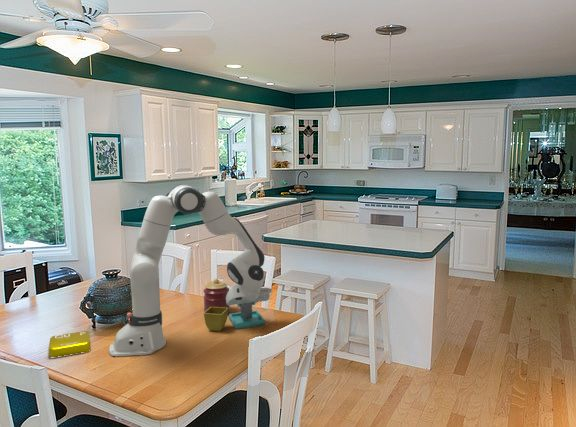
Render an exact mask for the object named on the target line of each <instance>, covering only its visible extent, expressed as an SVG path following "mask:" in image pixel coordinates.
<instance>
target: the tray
mask: <svg viewBox="0 0 576 427" xmlns="http://www.w3.org/2000/svg"><path fill="white" fill-rule="evenodd" d="M228 319H229V321H230V322H231V324H232V326H233V328H234V330H239V329H247V328H255V327H261V326H265V325H266V323H265V319H264V317H263V316H262V315H261V314H260V312H259V311H258V310H252V318H250V319H242V318H241V312H235V313H234V312H232V313H228Z"/></svg>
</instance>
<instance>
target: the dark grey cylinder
mask: <svg viewBox="0 0 576 427" xmlns="http://www.w3.org/2000/svg"><path fill="white" fill-rule="evenodd" d="M252 311H253V305H252V303H244V304H241V307H240V313H241V318H242V319H250V318H252Z"/></svg>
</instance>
